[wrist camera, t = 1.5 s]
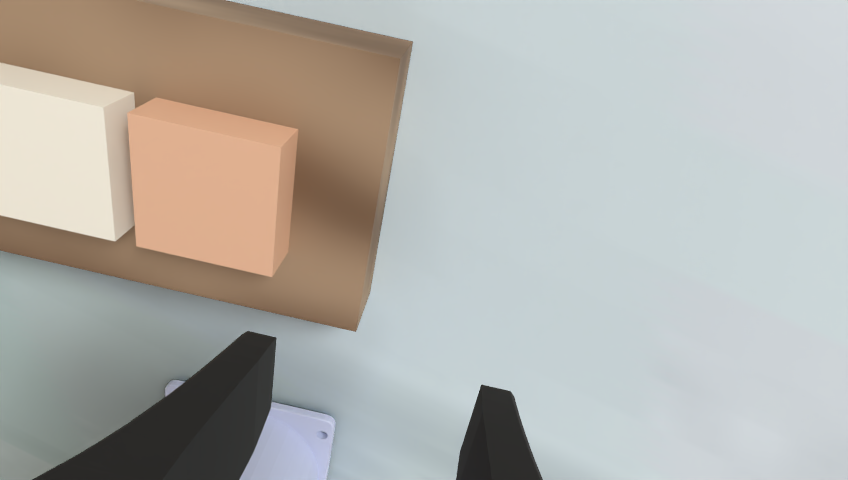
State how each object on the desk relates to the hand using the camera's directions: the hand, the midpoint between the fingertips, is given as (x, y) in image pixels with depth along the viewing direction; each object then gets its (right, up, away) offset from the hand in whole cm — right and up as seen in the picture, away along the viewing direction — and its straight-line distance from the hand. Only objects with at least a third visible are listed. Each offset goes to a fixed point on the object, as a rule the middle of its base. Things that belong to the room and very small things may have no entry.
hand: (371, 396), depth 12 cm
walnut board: (-7, +7, +9) cm, 14 cm away
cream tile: (-10, +6, +7) cm, 14 cm away
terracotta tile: (-5, +5, +7) cm, 10 cm away
